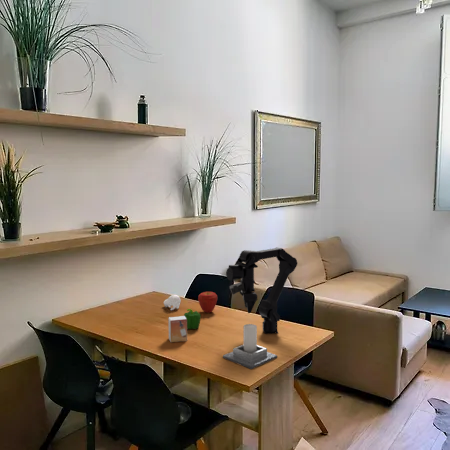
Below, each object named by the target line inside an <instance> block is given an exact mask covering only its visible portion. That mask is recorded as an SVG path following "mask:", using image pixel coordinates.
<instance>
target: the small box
mask: <svg viewBox="0 0 450 450" xmlns="http://www.w3.org/2000/svg"><path fill="white" fill-rule="evenodd" d="M168 340H169V341H170V343H176V342H187V341H188V329H187V319H186V317H185V316H184V315H180V316H169V317H168Z"/></svg>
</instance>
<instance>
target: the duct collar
mask: <svg viewBox="0 0 450 450" xmlns="http://www.w3.org/2000/svg"><path fill="white" fill-rule="evenodd" d="M222 358H223V359H225V360H226V361H230V362H233V363H235V364H236V365H239V366H242V367H244V368H247V369H250V370H253V369H255V368H257V367H259V366H261V365H264V364H266V363H268V362H270V361H273V360H275V359H277V358H278V355H277V354H274V353H272V352H269V351H268V348H266V347H263V346H262V345H261V346H260V345H258V344H257V351H256V352H254V353H251V354H250V353H247V352H244V351H243V344H241V345H239V346H236V347H234V348H233V349H232V351H231V352H228V353H226V354H223V355H222Z"/></svg>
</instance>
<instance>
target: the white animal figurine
mask: <svg viewBox="0 0 450 450" xmlns="http://www.w3.org/2000/svg"><path fill="white" fill-rule="evenodd" d="M181 302H182V300H181V298H180V296H179V295H177V294H172V295H170V296H169V297H168V298H166V299H165V300H164V301H163V305H164V308H168V307H169V308H170V311H174V310H175V309H177V310H178V309H179V308H180V304H181Z"/></svg>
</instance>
